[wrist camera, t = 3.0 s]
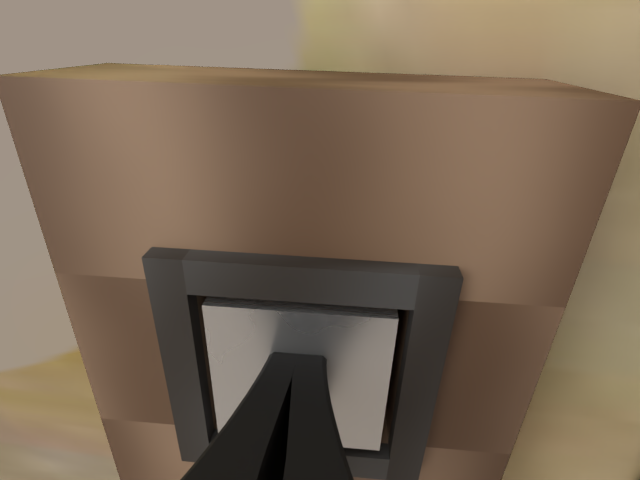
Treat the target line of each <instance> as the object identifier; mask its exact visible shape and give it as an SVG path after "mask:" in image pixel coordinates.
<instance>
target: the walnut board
mask: <svg viewBox="0 0 640 480" xmlns="http://www.w3.org/2000/svg"><path fill="white" fill-rule="evenodd" d="M0 99H1V103H2V106H3V109H4V112H5V115H6V118H7V122H8V125H9V128H10V131H11V134H12V138H13V141H14V144H15V147H16V150H17V153H18V156H19V160H20V163H21V166H22V169H23V172H24V176H25V179H26V182H27V185H28V188H29V191H30V195H31V198H32V200H33V204H34V207H35V210H36V214H37V217H38V220H39V223H40V226H41V230H42V233H43V236H44V239H45V242H46V245H47V249H48V252H49V254H50V258H51V261H52V264H53V268H54V271H55V274H56V277H57V280H58V283H59V287H60V289H61V293H62V296H63V299H64V302H65V305H66V309H67V312H68V315H69V318H70V321H71V325H72V328H73V331H74V334H75V337H76V340H77V344H78V347H79V350H80V353H81V356H82V359H83V363H84V366H85V369H86V372H87V375H88V378H89V382H90V385H91V388H92V391H93V394H94V397H95V401H96V404H97V407H98V410H99V413H100V416H101V420H102V423H103V426H104V429H105V432H106V435H107V439H108V442H109V445H110V448H111V451H112V454H113V458H114V461H115V464H116V467H117V470H118V473H119V477H120V480H180V479H181V478H182V477H183V476H184V475H185V474H186V473H187V471H188V470H189V469H190V468H191V467H192V465H193V464H194V463H195V462H196V461H197V460H198V458H199V457H200V456H201V455H202V453H203V452H204V451H205V450H206V448H207V447H208V446H209V444H210V443H211V442H212V441H213V439H214V438H215V437H216V435H217V434H218V428H217V421H216V413H215V405H214V397H213V389H212V381H211V374H210V366H209V358H208V350H207V342H206V335H205V327H204V319H203V311H202V304H203V302H204V301H205V299H206V297H207V296H215V297H229V298H243V299H258V300H272V301H287V302H301V303H315V304H330V305H344V306H359V307H373V308H388V309H397V312H398V318H399V321H398V327H397V334H396V341H395V348H394V355H393V362H392V369H391V375H390V382H389V389H388V396H387V403H386V410H385V417H384V423H383V430H382V437H381V444H380V451H378V450H366V449H355V448H344V447H343V449H344V452H345V455H346V458H347V461H348V464H349V467H350V470H351V473H352V476H353V479H354V480H501V479H502V476H503V474H504V471H505V468H506V466H507V463H508V460H509V458H510V455H511V452H512V450H513V447H514V444H515V442H516V439H517V436H518V434H519V431H520V428H521V426H522V423H523V420H524V418H525V415H526V412H527V410H528V407H529V404H530V402H531V399H532V396H533V394H534V391H535V388H536V385H537V383H538V380H539V377H540V375H541V372H542V369H543V367H544V364H545V361H546V359H547V356H548V353H549V351H550V348H551V345H552V343H553V340H554V337H555V335H556V332H557V329H558V327H559V324H560V321H561V319H562V316H563V313H564V311H565V308H566V305H567V303H568V300H569V297H570V295H571V292H572V289H573V287H574V284H575V281H576V279H577V276H578V273H579V271H580V268H581V265H582V263H583V260H584V257H585V255H586V252H587V249H588V247H589V244H590V241H591V239H592V236H593V233H594V230H595V228H596V225H597V222H598V220H599V217H600V214H601V212H602V209H603V206H604V204H605V201H606V198H607V196H608V193H609V190H610V188H611V185H612V182H613V180H614V177H615V174H616V172H617V169H618V166H619V164H620V161H621V158H622V156H623V153H624V150H625V148H626V145H627V142H628V140H629V137H630V134H631V132H632V129H633V126H634V124H635V121H636V118H637V116H638V113H639V110H640V100H635V99H631V98H627V97H622V96H618V95H613V94H609V93H604V92H600V91H596V90H591V89H587V88H582V87H578V86H573V85H569V84H565V83H560V82H556V81H551V80H547V79H522V78H495V77H468V76H441V75H414V74H387V73H360V72H333V71H306V70H279V69H278V70H277V69H252V68H224V67H197V66H170V65H142V64H116V63H104V64H95V65H86V66H76V67H67V68H58V69H49V70H40V71H30V72H22V73H12V74H3V75H0Z"/></svg>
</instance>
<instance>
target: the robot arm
mask: <svg viewBox="0 0 640 480" xmlns="http://www.w3.org/2000/svg"><path fill="white" fill-rule="evenodd" d="M180 480H354V479H353V476H352V473H351V470H350V467H349V464H348V461H347V458H346V455H345V452H344V449H343V445H342V442H341V439H340V435H339V431H338V427H337V424H336V420H335V416H334V412H333V408H332V403H331V398H330V392H329V387H328V379H327V359H326V358H325V357H324V356H322V355H309V354H296V353H283V352H273V353H271V354H270V355H269V357H268V359H267V361H266V362H265V364H264V366H263V368H262V370H261V371H260V373H259V375H258V376H257V378H256V380H255V381H254V383H253V384H252V386H251V388H250V389H249V391H248V392H247V394H246V395H245V397H244V398H243V400H242V401H241V402H240V404H239V405H238V407H237V408H236V410H235V411H234V413H233V414H232V415H231V417H230V418H229V420H228V421H227V422H226V424H225V425H224V426H223V428H222V429H221V430H220V432H219V433H218V434H217V435H216V437H215V438H214V439H213V441H212V442H211V443H210V444H209V446H208V447H207V448H206V450H205V451H204V452H203V453H202V455H201V456H200V457H199V458H198V460H197V461H196V462H195V463H194V464H193V465H192V467H191V468H190V469H189V470H188V471H187V473H186V474H185V475H184V476H183V477H182V478H181V479H180Z"/></svg>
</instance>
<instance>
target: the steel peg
mask: <svg viewBox="0 0 640 480" xmlns="http://www.w3.org/2000/svg"><path fill="white" fill-rule="evenodd" d="M202 311H203V319H204V327H205V335H206V342H207V350H208V358H209V366H210V374H211V381H212V389H213V397H214V405H215V413H216V421H217V428H218V433H219V432H220V430H221V429H222V428H223V426H224V425H225V424H226V422H227V421H228V420H229V418H230V417H231V415H232V414H233V413H234V411H235V410H236V408H237V407H238V405H239V404H240V402H241V401H242V400H243V398H244V397H245V395H246V394H247V392H248V391H249V389H250V388H251V386H252V384H253V383H254V381H255V380H256V378H257V376H258V375H259V373H260V371H261V370H262V368H263V366H264V364H265V362H266V361H267V359H268V357H269V355H270V354H271V353H273V352H283V353H296V354H309V355H322V356H324V357H325V358H326V359H327V379H328V387H329V392H330V398H331V403H332V408H333V412H334V416H335V420H336V424H337V427H338V431H339V435H340V439H341V442H342V445H343V447H344V448H355V449H366V450H378V451H380V444H381V437H382V430H383V423H384V417H385V410H386V403H387V396H388V389H389V382H390V375H391V369H392V362H393V355H394V348H395V341H396V334H397V327H398V321H399V318H398V312H397V309H388V308H373V307H359V306H344V305H330V304H315V303H301V302H287V301H272V300H258V299H243V298H229V297H215V296H207V297H206V299H205V301H204V302H203V304H202Z"/></svg>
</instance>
